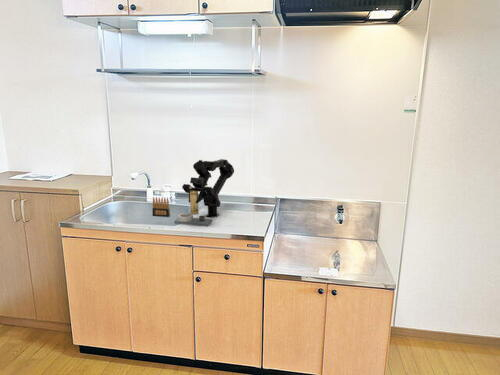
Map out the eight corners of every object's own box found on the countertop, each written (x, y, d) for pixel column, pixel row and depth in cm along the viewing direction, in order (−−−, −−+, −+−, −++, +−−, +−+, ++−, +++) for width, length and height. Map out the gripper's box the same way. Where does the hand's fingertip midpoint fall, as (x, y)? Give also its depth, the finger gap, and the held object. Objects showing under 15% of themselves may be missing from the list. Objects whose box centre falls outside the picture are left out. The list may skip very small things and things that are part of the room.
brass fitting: (197, 211, 212) (196, 189, 209) (199, 214, 208) (199, 191, 205) (189, 212, 210) (188, 190, 207) (191, 215, 206) (191, 192, 203)
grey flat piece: (179, 218, 221) (179, 212, 221) (212, 221, 218) (212, 214, 217) (174, 223, 213) (174, 216, 212) (208, 226, 210) (208, 219, 209)
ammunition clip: (170, 216, 226) (169, 197, 224) (169, 217, 225) (168, 198, 222) (153, 215, 228) (152, 196, 226) (152, 216, 226) (151, 197, 224)
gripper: (183, 170, 211) (172, 193, 204) (211, 173, 204) (201, 197, 197) (191, 181, 220) (181, 203, 213) (218, 184, 213) (209, 207, 205)
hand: (192, 202), depth 207 cm, fingers closed on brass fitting, 4 cm apart
